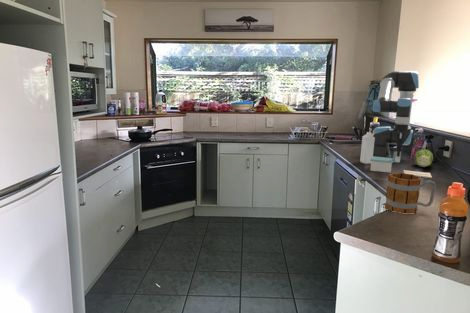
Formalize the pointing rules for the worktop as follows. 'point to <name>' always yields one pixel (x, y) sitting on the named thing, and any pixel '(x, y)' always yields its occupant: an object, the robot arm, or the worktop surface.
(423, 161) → the lettuce
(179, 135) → the worktop surface
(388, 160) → the lid
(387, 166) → the tub
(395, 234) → the worktop surface
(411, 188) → the mug
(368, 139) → the milk
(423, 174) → the board
